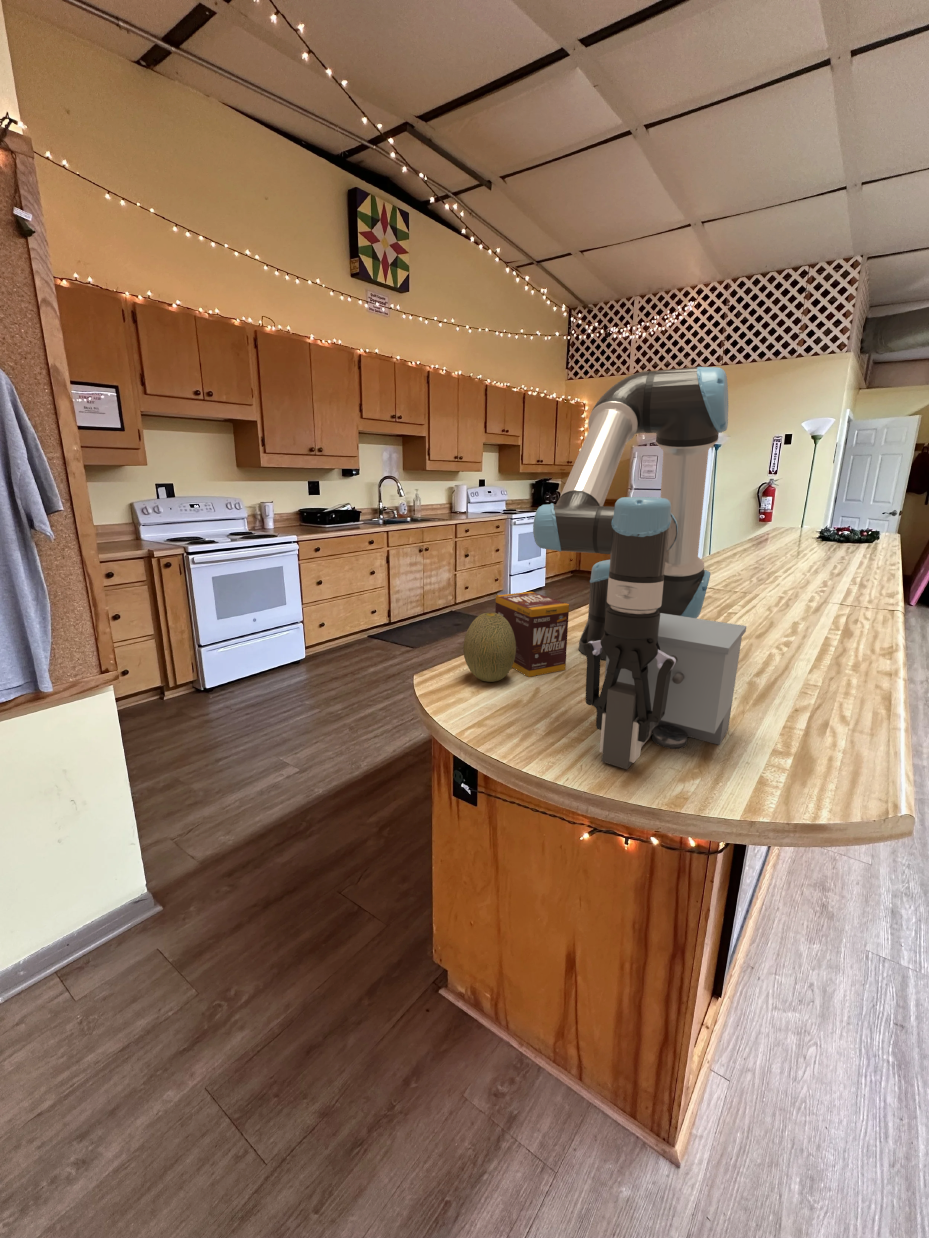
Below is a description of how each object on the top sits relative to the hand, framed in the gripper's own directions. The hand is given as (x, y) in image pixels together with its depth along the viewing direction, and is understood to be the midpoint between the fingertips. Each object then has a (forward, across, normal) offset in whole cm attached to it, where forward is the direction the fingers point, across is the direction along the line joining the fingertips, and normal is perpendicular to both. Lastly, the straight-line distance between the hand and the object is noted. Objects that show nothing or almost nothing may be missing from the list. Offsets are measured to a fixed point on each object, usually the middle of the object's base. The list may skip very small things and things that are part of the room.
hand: (619, 753), depth 84 cm
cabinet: (+2, +2, +16) cm, 16 cm away
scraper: (+1, 0, +6) cm, 7 cm away
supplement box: (+2, -34, +31) cm, 46 cm away
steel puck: (+2, +4, +12) cm, 13 cm away
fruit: (+2, -36, +17) cm, 40 cm away
